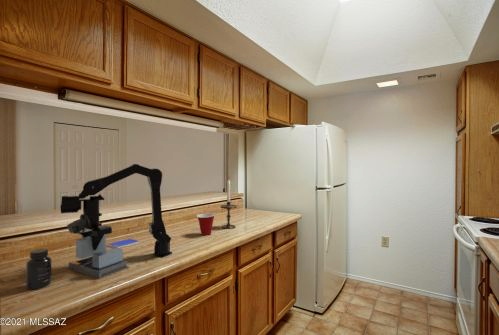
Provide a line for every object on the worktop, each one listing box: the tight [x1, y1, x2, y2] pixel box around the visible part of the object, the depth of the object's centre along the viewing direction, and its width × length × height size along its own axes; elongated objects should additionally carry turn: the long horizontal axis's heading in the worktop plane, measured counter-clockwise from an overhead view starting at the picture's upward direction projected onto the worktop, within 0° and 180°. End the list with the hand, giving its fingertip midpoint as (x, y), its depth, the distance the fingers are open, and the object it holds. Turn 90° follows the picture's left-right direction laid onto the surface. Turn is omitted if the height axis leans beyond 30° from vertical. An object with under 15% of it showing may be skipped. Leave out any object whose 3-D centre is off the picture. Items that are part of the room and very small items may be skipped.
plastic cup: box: [196, 212, 216, 236], centre depth 162 cm, size 11×11×12 cm
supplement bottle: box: [25, 248, 52, 291], centre depth 92 cm, size 7×7×12 cm
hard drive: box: [106, 238, 139, 248], centre depth 141 cm, size 2×8×12 cm
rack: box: [67, 247, 130, 280], centre depth 108 cm, size 13×20×7 cm, turn 62°
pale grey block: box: [75, 234, 107, 260], centre depth 111 cm, size 10×4×7 cm, turn 152°
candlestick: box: [219, 175, 238, 230], centre depth 180 cm, size 11×11×35 cm
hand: (91, 249), depth 111 cm, fingers closed on pale grey block, 4 cm apart
